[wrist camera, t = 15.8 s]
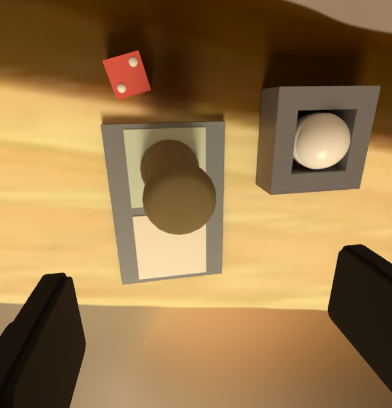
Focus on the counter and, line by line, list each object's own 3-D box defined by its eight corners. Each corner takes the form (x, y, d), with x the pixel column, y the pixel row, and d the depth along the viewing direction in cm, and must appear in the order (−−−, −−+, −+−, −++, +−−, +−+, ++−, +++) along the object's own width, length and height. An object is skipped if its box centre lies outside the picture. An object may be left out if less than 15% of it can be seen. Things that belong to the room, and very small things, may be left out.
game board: (223, 121, 28) (225, 121, 27) (220, 269, 34) (222, 273, 33) (102, 124, 26) (100, 125, 25) (122, 280, 32) (122, 285, 31)
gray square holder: (350, 88, 29) (380, 85, 25) (335, 178, 32) (359, 188, 28) (261, 89, 27) (279, 86, 23) (255, 184, 31) (270, 194, 27)
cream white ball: (331, 111, 29) (369, 112, 24) (323, 161, 30) (357, 172, 25) (283, 112, 28) (313, 114, 23) (278, 164, 30) (305, 176, 25)
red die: (139, 56, 24) (138, 49, 22) (150, 90, 26) (150, 88, 23) (107, 65, 24) (102, 60, 21) (120, 99, 25) (116, 99, 23)
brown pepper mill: (127, 174, 27) (115, 216, 17) (164, 126, 26) (174, 140, 16) (174, 207, 29) (189, 263, 19) (210, 164, 28) (246, 198, 18)
